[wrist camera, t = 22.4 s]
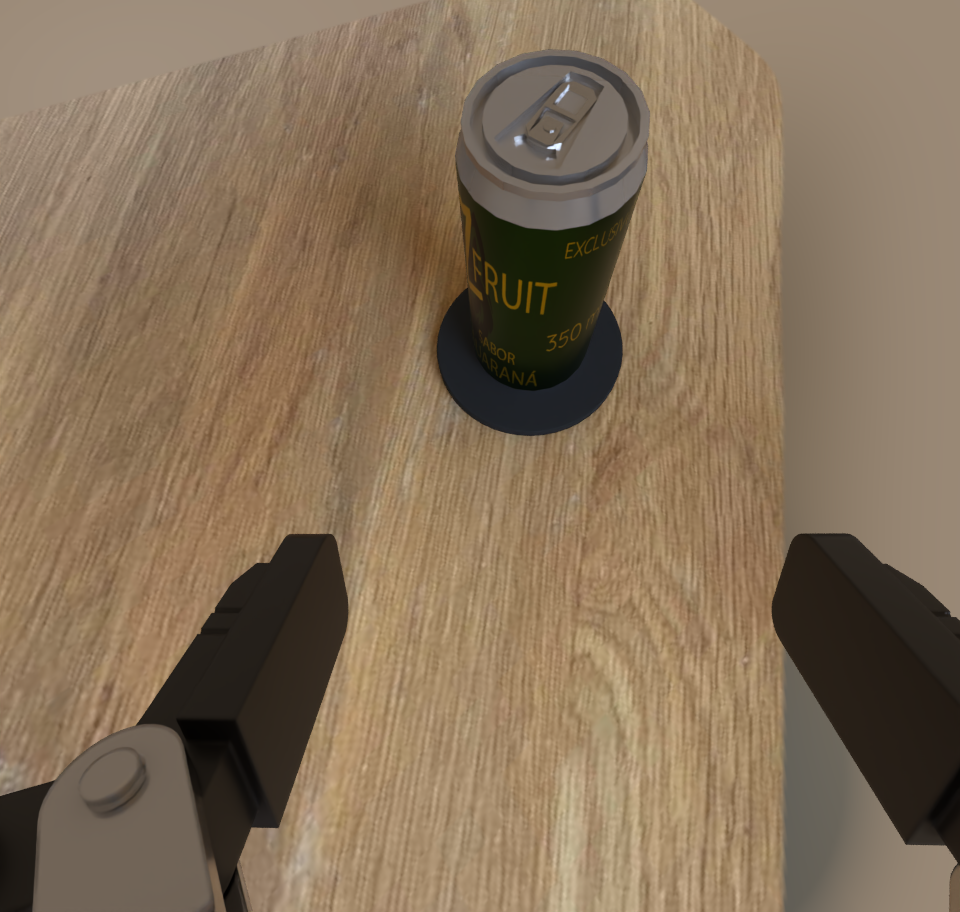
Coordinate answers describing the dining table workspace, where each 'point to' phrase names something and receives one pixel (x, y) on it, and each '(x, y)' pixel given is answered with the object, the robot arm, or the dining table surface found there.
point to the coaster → (517, 406)
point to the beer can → (546, 206)
